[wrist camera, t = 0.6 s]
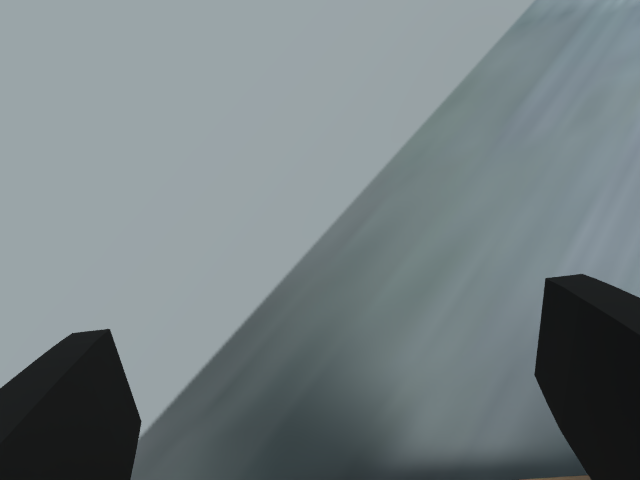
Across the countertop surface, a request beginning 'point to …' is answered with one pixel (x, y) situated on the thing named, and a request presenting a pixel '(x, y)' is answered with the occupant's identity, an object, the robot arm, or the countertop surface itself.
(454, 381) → the countertop surface
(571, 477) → the rail stand
